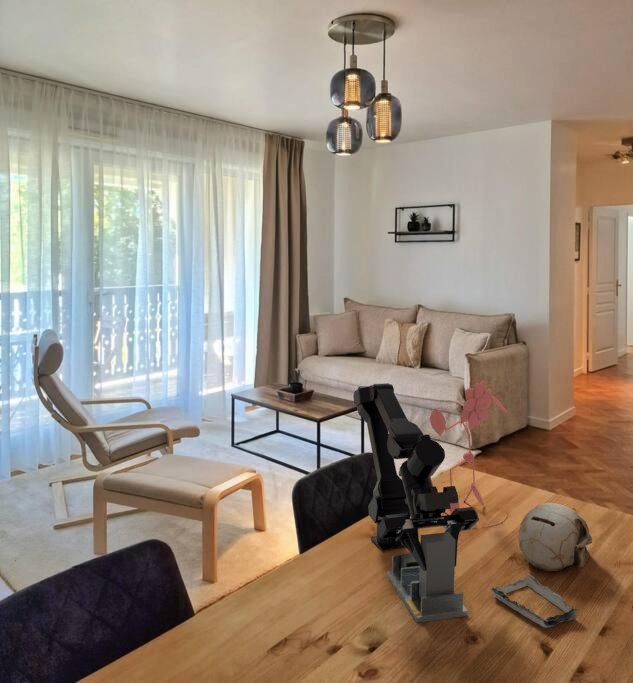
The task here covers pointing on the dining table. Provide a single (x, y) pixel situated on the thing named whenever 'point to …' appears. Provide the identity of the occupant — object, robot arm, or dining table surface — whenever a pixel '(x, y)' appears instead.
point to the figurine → (474, 413)
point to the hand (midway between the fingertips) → (439, 568)
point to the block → (437, 564)
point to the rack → (420, 607)
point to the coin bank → (554, 537)
